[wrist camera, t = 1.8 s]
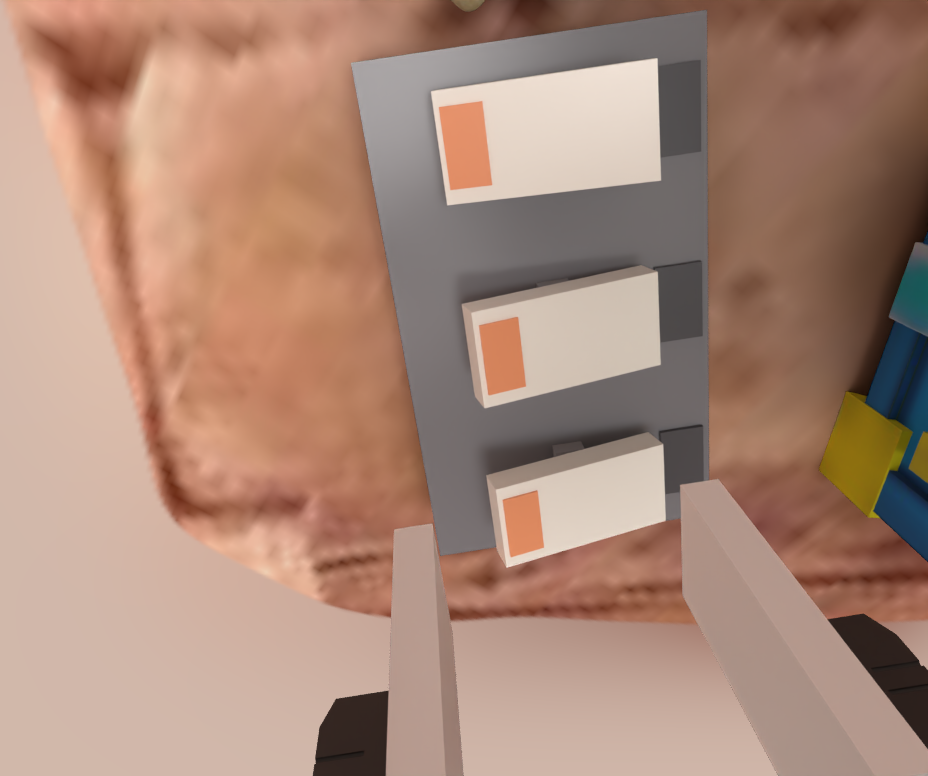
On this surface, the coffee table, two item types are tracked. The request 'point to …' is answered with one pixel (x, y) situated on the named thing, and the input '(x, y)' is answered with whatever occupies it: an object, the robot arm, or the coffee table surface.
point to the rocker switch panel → (542, 265)
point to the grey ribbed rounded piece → (468, 4)
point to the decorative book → (891, 421)
